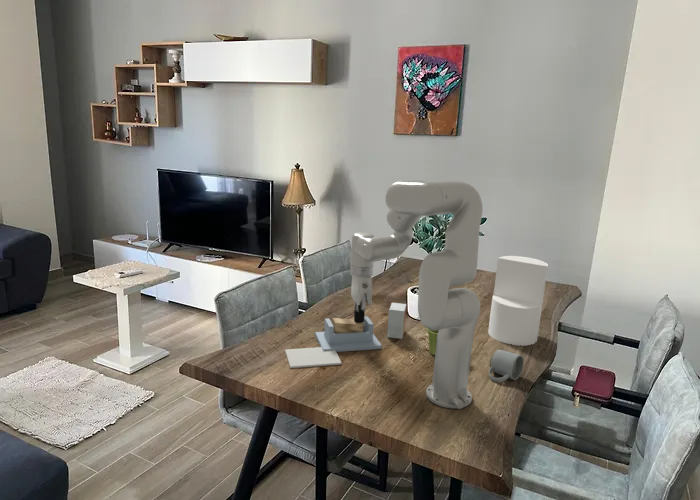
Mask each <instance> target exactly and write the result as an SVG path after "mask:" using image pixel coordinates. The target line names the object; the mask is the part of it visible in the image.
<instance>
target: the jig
mask: <svg viewBox="0 0 700 500" xmlns="http://www.w3.org/2000/svg"><path fill="white" fill-rule="evenodd" d="M363 324H364V329H363V332H354V333H334V326H333V324H332V320H330V318H327V317H326V318H324V330H323V331H315V332H314V336H315V338H316V340H317V343H318V345H319V347H322V350H323V351H331V350H335V351H336V353H337V352H338V353H339V352H350V351H351V352H352V351H370V350H381V349H383V348H382V347H383V345H382V344H381V342H380V340H378V338H377V336H376V335H375V334H374V326H375V325H374V323H373V322H372V320H371V318H370V317H369V316H366V315H365V316H364V322H363Z"/></svg>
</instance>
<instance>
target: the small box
mask: <svg viewBox="0 0 700 500" xmlns="http://www.w3.org/2000/svg"><path fill="white" fill-rule="evenodd" d="M406 315H407V303H400V302H391V303H390V307H389V308H388V319H387V335H386V336H387V338H389V339H390V338H391V339H400V340H403V339H404V334H405V330H406V328H405V326H406Z"/></svg>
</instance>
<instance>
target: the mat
mask: <svg viewBox="0 0 700 500" xmlns="http://www.w3.org/2000/svg"><path fill="white" fill-rule="evenodd" d="M284 352H285V356H286V359H287V362H288V365H289V368H290V369H298V368H309V367H310V368H311V367H327V366H337V365H338V366H339V365H342V361H341V359H340V357H339V355H338V353H337V352H336V351H335V350H331V351H323V350H322V347H320V346H318V347H302V348H301V347H300V348H288V349H284Z"/></svg>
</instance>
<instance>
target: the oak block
mask: <svg viewBox="0 0 700 500" xmlns="http://www.w3.org/2000/svg"><path fill="white" fill-rule="evenodd" d="M331 323H332V324H333V326H334V333H354V332H363V329H364V324H363V322H357V323H356V322H355V321H354V318H353V319H351V318H338V317H332V320H331Z"/></svg>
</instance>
